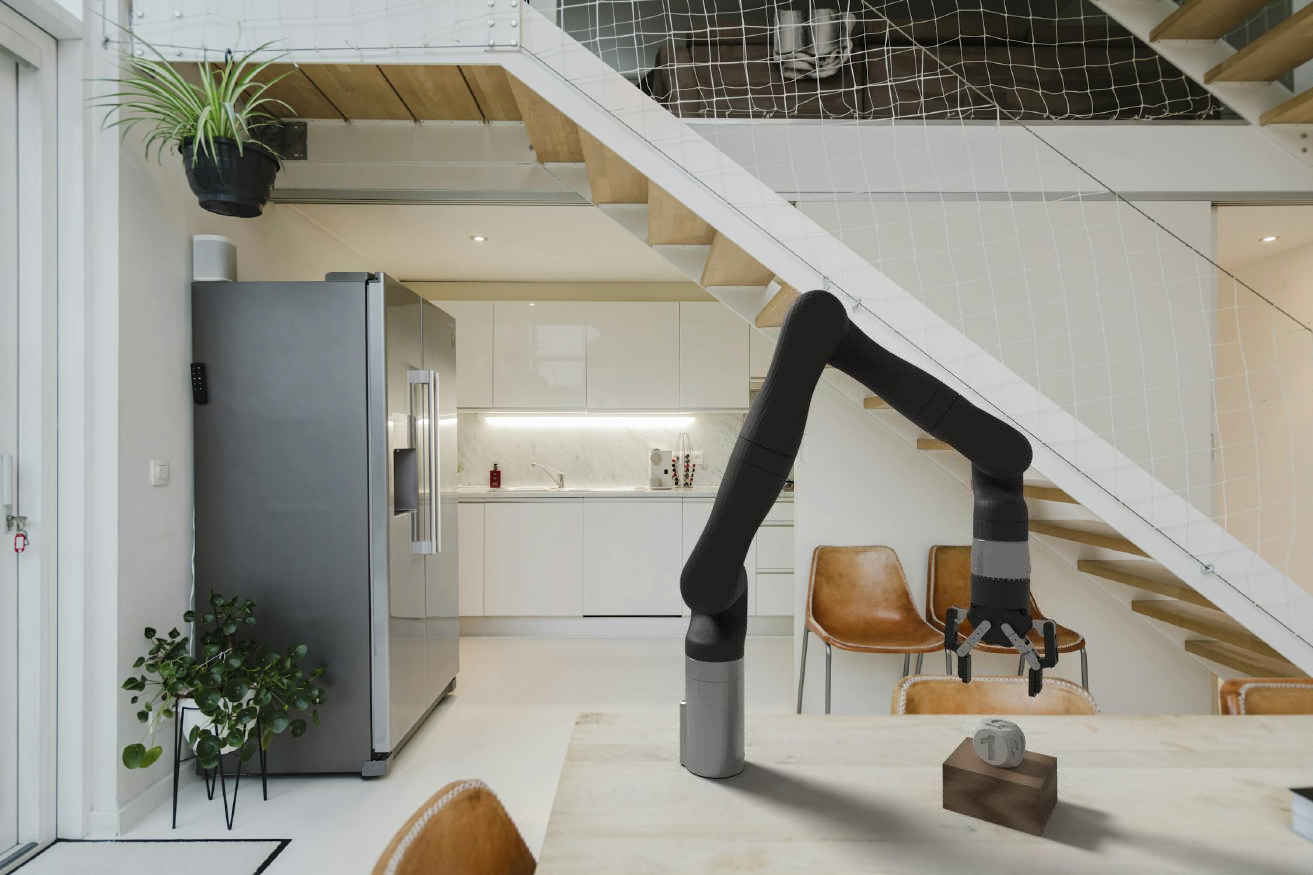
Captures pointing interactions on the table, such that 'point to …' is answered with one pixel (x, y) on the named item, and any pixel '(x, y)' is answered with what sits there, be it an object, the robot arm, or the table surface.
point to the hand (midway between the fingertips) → (999, 688)
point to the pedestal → (1001, 789)
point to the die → (999, 742)
